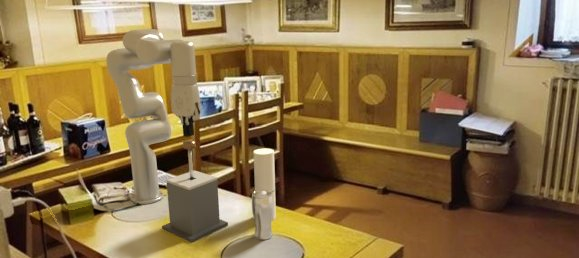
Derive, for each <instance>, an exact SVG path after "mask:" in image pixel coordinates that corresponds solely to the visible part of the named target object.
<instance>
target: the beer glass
mask: <svg viewBox="0 0 579 258" xmlns="http://www.w3.org/2000/svg"><path fill="white" fill-rule="evenodd" d="M251 212H252V217H253V221H254V228H255V229H254V238H255V239H257V240H260V241H266V240H270V239H271V238H273V230H272V221H273V220H272V214H273V198H272V192H270V191H267V190H259V191H255V190H254V191H253V192H252V193H251Z"/></svg>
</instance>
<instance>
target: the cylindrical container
mask: <svg viewBox="0 0 579 258" xmlns="http://www.w3.org/2000/svg"><path fill="white" fill-rule="evenodd" d="M253 168H254V169H253V172H254V175H253V176H254V192H255V191H259V190H267V191H270V192H272V198H273V214H272V221H274V220H275V219H276V218H277V216H276V215H277V211H276V208H277V207H276V206H277V205H276V175H275V174H276V173H275V172H276V171H275V150H274V149H273V148H265V147H264V148H258V149H255V150H253Z"/></svg>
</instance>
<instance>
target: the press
mask: <svg viewBox="0 0 579 258" xmlns="http://www.w3.org/2000/svg"><path fill="white" fill-rule="evenodd" d="M193 177H194V180H190V172H189V171H188V172H185V173H183V174H182V173H181V174H180V175H179V174H178V175H176V176H173V177H171V178H168V179H166V180H165V181H166V191H167V205H168V214H169V223H165V224H163V225H162V226H161V230H163V231H165V232H168V233H170V234H171V235H174V236H176V237H178V238H180V239H182V240H185V241H186V242H189V243H190V244H193V243H196V242H197V241H199V240H201V239H203V238H205V237H207V236H210V235H211V234H213V233H216V232H218V231H220V230H222V229H223V228H226V227H229V222H228V221H225V220H222V219H221V218H220V205H219V188H218V187H219V186H218V177H216V176H215V175H210V174H207V173H204V172H201V171H197V170H194V169H193Z"/></svg>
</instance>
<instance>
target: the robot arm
mask: <svg viewBox="0 0 579 258" xmlns="http://www.w3.org/2000/svg"><path fill="white" fill-rule="evenodd" d="M122 45H123V47H122V48H115V49H113V50H111V51H109V52H108V53H107V56H106V59H105V60H106V68H107V72H108V74H109V76H110V77H111V79H112V80H113V82H114V84H115V86H116V91H117V94H118V97H119V101H120V105H121V109H122V111H123V114H124V116H125V118H126V119H129V120H136V119H138V120H139V119H142V118H149V117H151V118H152V119H146V120H141V121H135V122H132V123H130V124H128V126H127V127H126V128H125V131H124V132H125V139H126V142H127V145H128V149H129V157H130V165H131V174H132V182H133V186H131V188H130V189H131V190H132V191H133V194H132V195H131V196H130V201H131V200H132V201H133V202H135V203H134V204H137V203H139V204H138V205H147V204H154V203H157V202H159V201H161V200H162V199H163V198H164V192H163V191H161V190H160V188H159V187H160V186H159V185H160V183H159V175H158V166H157V165H158V164H157V156H156V153H155V152H154V150H153V149H152V148H150V145H153V144H158V143H163V142H166V141H168V140H170V138H171V137H172V127H171V126H172V125H171V123H170V119H169V115H168V112H167V108H166V105H165V101H164V99H163V97H162V95H160V94H159V92H155V91H152V92H151V91H149V92H143V91H142V88H141V85H140V81H138V79H137V78H136V77H135V76H134V75H133V74H132V73H130V72H129V71H137V70H145V69H151V68H152V67H153V66H154V65H163V64H165V65H166V64H171V75H172V76H171V77H172V84H171V89H170V90H171V91H170V105H171V106H170V107H171V108H170V109H171V113H172V114H173V115H175V117H177V118H178V119H180V124H181V125H182V136H183V137H186V138H189V137H192V136H194V135H195V129H194V128H195V127H194V124H195V121H198V120H200V116H199V115H201V113H202V107H201V106H202V105H201V97H200V96H201V95H200V92H199V86H198V81H197V79H198V78H197V68H196V67H197V66H196V65H197V64H196V52H195V50H196V49H195V45H194V43H193V41H189V40H187V41H185V40H183V39H179V38H178V39H165V38H164V36H163V33H161V31H159V30H158V29H156V28H146V29H145V28H143V29H132V30H129V31H127V32H126V33H125V34H124V35H123V37H122ZM132 201H131V202H132ZM133 202H132V203H133Z"/></svg>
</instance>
